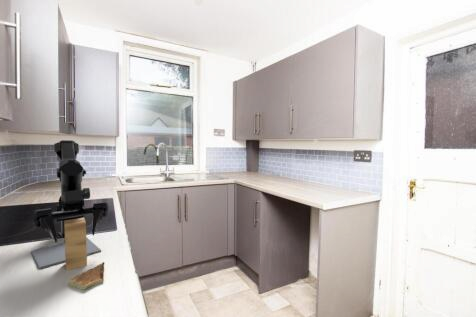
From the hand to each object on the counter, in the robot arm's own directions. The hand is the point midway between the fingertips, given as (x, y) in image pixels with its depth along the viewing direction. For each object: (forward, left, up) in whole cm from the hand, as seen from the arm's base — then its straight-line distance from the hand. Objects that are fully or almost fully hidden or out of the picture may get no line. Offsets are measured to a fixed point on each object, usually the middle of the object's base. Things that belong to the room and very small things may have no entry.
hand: (75, 238), depth 72 cm
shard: (+11, 0, -9) cm, 14 cm away
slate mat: (-12, 0, -8) cm, 14 cm away
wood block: (0, 0, -8) cm, 8 cm away
